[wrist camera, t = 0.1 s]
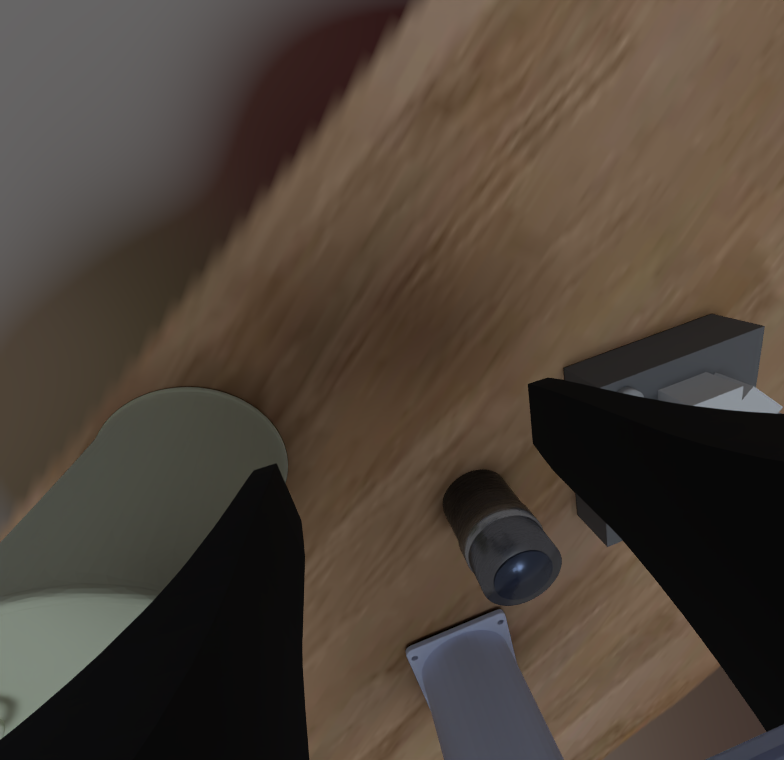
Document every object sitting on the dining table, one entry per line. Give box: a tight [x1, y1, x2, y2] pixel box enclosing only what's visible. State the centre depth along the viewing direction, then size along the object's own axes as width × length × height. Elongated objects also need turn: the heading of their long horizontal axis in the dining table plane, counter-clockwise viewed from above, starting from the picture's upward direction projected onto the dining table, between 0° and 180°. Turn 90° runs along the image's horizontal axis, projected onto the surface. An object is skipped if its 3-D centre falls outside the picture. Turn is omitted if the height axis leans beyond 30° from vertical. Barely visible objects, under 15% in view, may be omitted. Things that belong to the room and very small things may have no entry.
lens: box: [443, 470, 562, 606], centre depth 23 cm, size 5×5×6 cm
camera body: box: [564, 314, 783, 547], centre depth 24 cm, size 12×10×5 cm
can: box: [0, 387, 288, 740], centre depth 15 cm, size 9×9×12 cm
